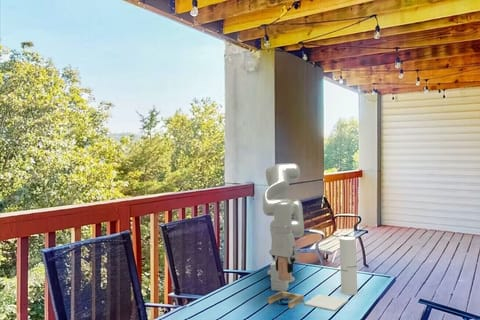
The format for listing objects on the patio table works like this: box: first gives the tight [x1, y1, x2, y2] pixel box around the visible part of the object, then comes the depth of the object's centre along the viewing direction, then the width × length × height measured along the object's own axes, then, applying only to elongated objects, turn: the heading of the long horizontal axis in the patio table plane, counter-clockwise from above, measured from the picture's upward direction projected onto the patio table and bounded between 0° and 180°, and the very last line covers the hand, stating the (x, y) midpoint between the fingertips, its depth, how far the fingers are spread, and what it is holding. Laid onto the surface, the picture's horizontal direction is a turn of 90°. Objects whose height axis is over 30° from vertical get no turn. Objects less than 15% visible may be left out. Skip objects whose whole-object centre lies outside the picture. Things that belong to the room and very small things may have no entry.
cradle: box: [267, 291, 304, 310], centre depth 172 cm, size 11×11×2 cm
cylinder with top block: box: [278, 256, 292, 281], centre depth 172 cm, size 5×6×10 cm
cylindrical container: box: [339, 236, 358, 296], centre depth 182 cm, size 7×7×25 cm
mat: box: [303, 293, 349, 312], centre depth 170 cm, size 14×14×1 cm
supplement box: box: [269, 260, 290, 292], centre depth 191 cm, size 7×7×13 cm
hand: (284, 270), depth 172 cm, fingers closed on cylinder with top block, 5 cm apart
